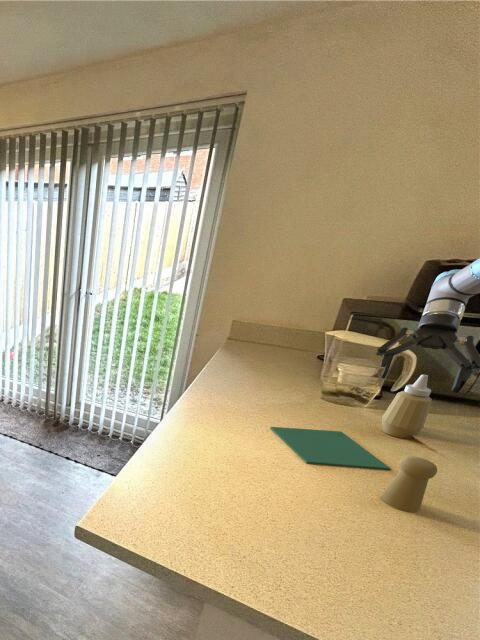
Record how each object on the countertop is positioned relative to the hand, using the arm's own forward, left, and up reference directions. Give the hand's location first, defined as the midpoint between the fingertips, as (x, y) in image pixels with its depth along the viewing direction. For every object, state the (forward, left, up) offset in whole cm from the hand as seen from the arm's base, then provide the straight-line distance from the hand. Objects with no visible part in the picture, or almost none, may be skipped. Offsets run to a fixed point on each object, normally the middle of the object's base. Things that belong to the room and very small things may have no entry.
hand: (417, 382), depth 109 cm
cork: (-37, +25, -14) cm, 47 cm away
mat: (-15, +27, -14) cm, 34 cm away
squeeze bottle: (-4, +3, -14) cm, 15 cm away
